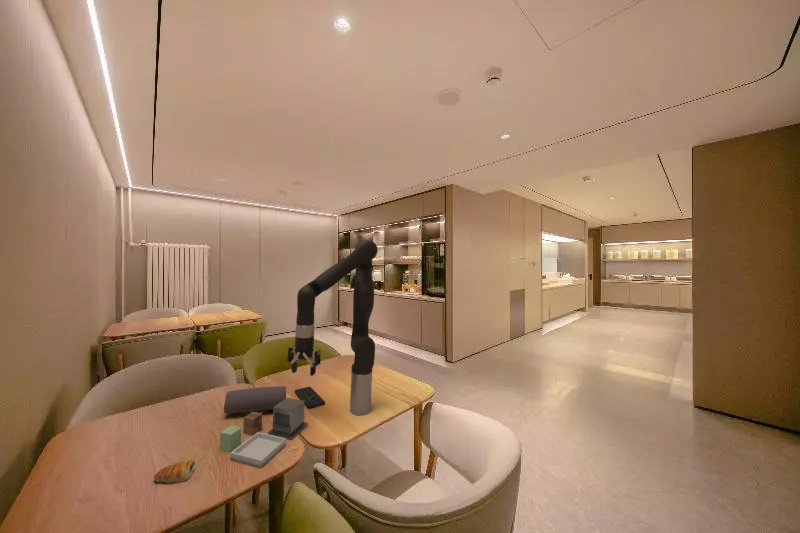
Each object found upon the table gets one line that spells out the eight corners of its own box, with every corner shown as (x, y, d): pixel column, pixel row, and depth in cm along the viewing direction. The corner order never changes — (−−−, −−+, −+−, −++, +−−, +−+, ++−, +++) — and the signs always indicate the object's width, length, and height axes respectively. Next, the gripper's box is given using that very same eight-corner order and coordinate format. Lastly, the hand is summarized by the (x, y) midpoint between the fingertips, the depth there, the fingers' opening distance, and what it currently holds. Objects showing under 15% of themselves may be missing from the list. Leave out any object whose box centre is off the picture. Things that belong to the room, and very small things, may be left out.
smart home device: (308, 406, 125) (293, 389, 140) (307, 410, 125) (293, 393, 140) (325, 401, 130) (310, 386, 145) (325, 405, 130) (310, 389, 145)
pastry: (149, 489, 79) (149, 475, 79) (160, 472, 85) (160, 459, 85) (189, 481, 82) (189, 468, 82) (197, 466, 89) (197, 453, 89)
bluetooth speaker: (285, 403, 129) (286, 381, 129) (284, 413, 120) (285, 390, 120) (228, 409, 122) (229, 386, 122) (222, 421, 113) (223, 396, 113)
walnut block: (252, 427, 110) (252, 411, 110) (261, 429, 109) (262, 413, 109) (243, 433, 106) (243, 417, 106) (252, 435, 105) (253, 419, 105)
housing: (285, 420, 115) (286, 396, 115) (307, 425, 113) (308, 400, 112) (268, 434, 105) (269, 407, 105) (291, 440, 103) (292, 412, 103)
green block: (230, 442, 100) (231, 425, 100) (240, 444, 99) (241, 427, 99) (219, 450, 96) (220, 432, 96) (230, 452, 95) (230, 434, 95)
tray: (257, 438, 103) (257, 431, 103) (286, 445, 100) (286, 438, 100) (229, 459, 92) (230, 452, 92) (261, 468, 88) (261, 460, 88)
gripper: (324, 334, 120) (323, 373, 120) (295, 331, 124) (294, 368, 124) (314, 338, 112) (313, 379, 113) (284, 335, 116) (282, 374, 116)
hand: (303, 373), depth 118 cm, fingers open, 8 cm apart
